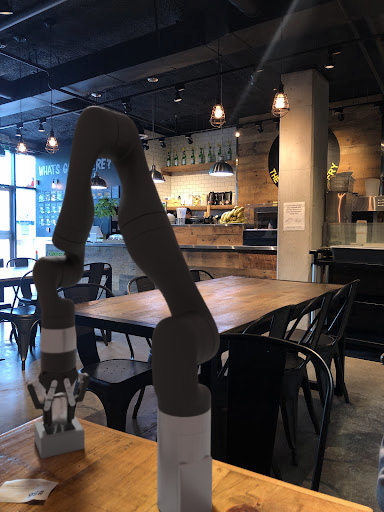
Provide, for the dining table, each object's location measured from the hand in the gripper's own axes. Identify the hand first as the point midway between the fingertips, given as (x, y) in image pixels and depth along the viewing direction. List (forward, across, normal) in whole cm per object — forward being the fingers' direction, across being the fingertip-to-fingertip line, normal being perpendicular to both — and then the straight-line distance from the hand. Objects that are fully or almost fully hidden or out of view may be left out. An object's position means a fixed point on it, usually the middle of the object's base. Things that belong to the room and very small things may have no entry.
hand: (58, 422), depth 94 cm
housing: (+5, 0, 0) cm, 5 cm away
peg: (+2, 0, 0) cm, 2 cm away
